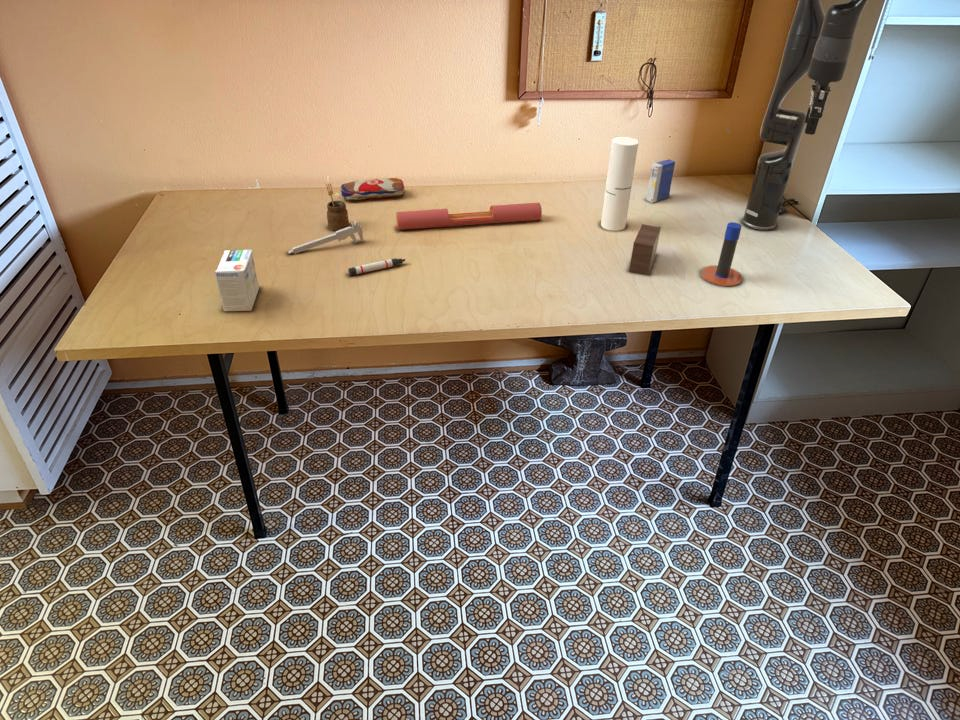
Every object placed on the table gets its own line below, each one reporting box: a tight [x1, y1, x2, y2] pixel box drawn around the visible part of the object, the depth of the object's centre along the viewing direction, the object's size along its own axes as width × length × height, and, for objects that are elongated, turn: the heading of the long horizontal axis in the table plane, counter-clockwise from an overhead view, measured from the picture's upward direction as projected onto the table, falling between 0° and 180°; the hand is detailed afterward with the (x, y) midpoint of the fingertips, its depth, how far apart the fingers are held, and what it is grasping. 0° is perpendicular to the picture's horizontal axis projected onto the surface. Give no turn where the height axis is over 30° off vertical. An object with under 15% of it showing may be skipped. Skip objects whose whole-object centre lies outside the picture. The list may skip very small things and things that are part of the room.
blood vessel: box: [395, 202, 543, 231], centre depth 203 cm, size 42×5×5 cm, turn 102°
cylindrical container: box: [600, 136, 639, 232], centre depth 199 cm, size 7×7×25 cm
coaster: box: [701, 265, 743, 287], centre depth 182 cm, size 10×10×1 cm
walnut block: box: [628, 223, 662, 276], centre depth 185 cm, size 12×5×8 cm, turn 159°
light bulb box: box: [214, 249, 260, 312], centre depth 165 cm, size 11×7×11 cm, turn 5°
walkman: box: [645, 158, 676, 204], centre depth 219 cm, size 8×3×12 cm, turn 127°
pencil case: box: [339, 177, 406, 201], centre depth 218 cm, size 11×20×5 cm, turn 89°
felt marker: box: [716, 221, 743, 278], centre depth 178 cm, size 3×12×12 cm
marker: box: [347, 257, 406, 276], centre depth 181 cm, size 15×2×2 cm, turn 117°
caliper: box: [287, 220, 364, 255], centre depth 189 cm, size 20×1×6 cm, turn 114°
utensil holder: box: [325, 182, 350, 232], centre depth 198 cm, size 6×6×12 cm
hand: (809, 128), depth 168 cm, fingers open, 8 cm apart
